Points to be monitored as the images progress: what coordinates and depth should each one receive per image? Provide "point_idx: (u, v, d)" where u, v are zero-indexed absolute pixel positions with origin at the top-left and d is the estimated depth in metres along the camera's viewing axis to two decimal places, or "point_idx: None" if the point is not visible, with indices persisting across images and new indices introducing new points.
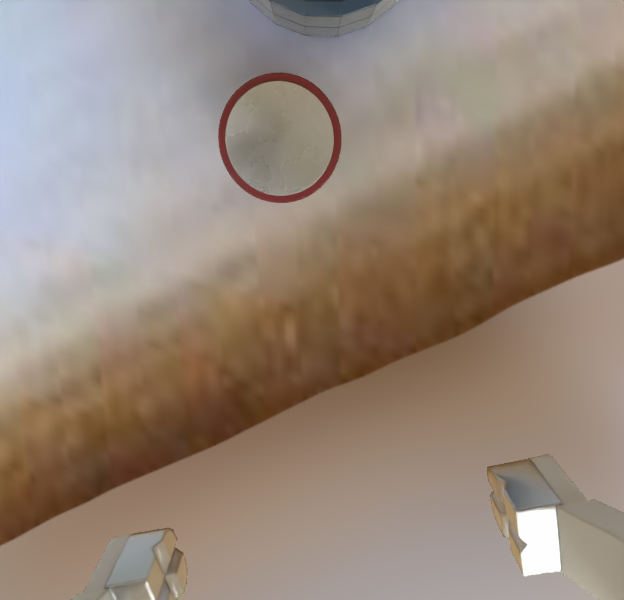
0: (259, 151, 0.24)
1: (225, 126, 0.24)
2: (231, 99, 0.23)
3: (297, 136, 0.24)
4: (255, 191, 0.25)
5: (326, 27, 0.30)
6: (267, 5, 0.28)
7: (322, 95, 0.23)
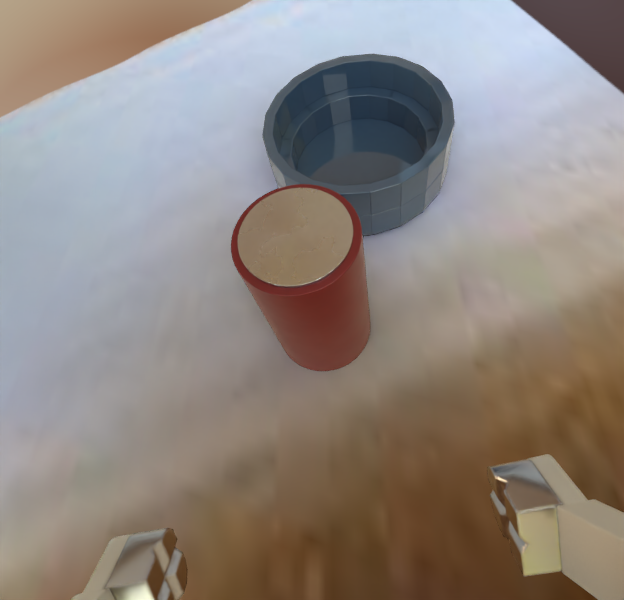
0: (271, 244, 0.22)
1: (240, 226, 0.23)
2: (250, 205, 0.23)
3: (313, 229, 0.22)
4: (262, 284, 0.21)
5: (359, 216, 0.32)
6: None
7: (340, 197, 0.23)
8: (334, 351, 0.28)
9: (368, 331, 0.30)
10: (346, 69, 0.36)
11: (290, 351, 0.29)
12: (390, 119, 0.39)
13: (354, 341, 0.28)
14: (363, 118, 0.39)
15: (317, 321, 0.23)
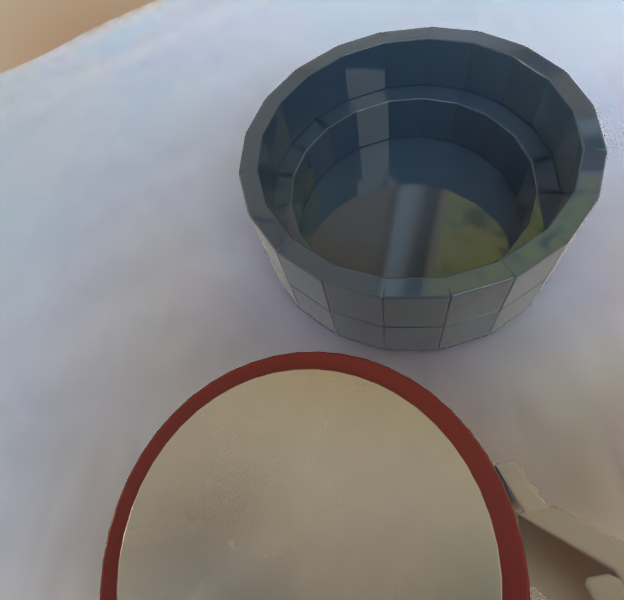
0: (223, 592, 0.07)
1: (135, 497, 0.08)
2: (170, 418, 0.08)
3: (362, 542, 0.07)
4: None
5: (421, 327, 0.17)
6: (319, 295, 0.17)
7: (440, 409, 0.07)
8: None
9: None
10: (386, 54, 0.21)
11: None
12: (455, 138, 0.23)
13: None
14: (409, 136, 0.24)
15: None
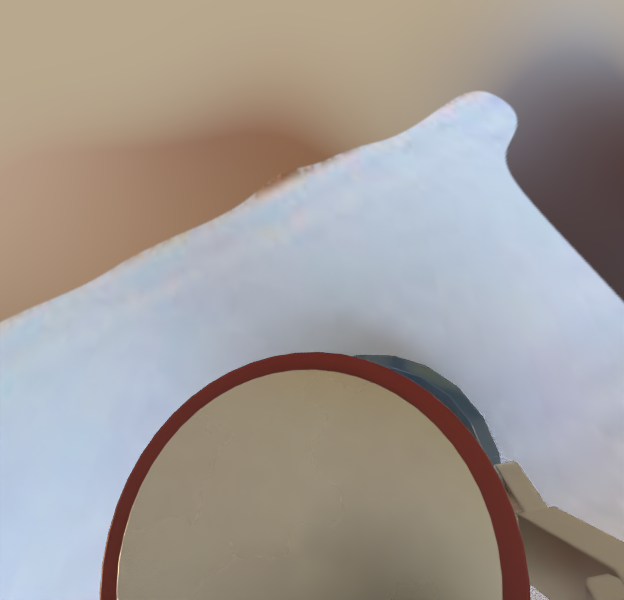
0: (223, 593, 0.07)
1: (135, 498, 0.08)
2: (170, 419, 0.08)
3: (362, 543, 0.07)
4: None
5: None
6: None
7: (439, 409, 0.07)
8: None
9: None
10: None
11: None
12: None
13: None
14: None
15: None
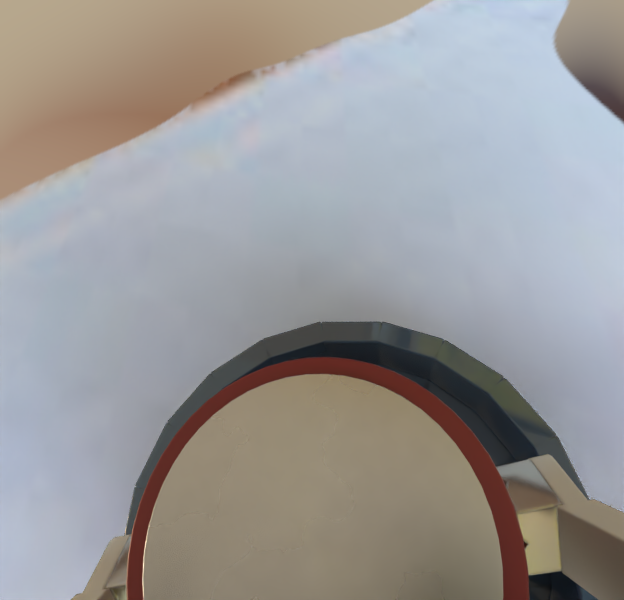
0: (243, 583, 0.07)
1: (157, 495, 0.08)
2: (189, 421, 0.09)
3: (371, 536, 0.07)
4: None
5: None
6: None
7: (443, 411, 0.08)
8: None
9: None
10: None
11: None
12: None
13: None
14: None
15: None
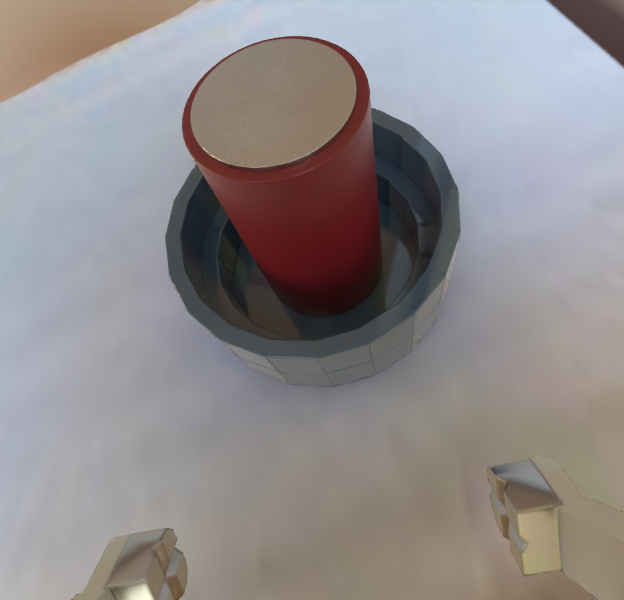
0: (238, 113, 0.15)
1: (196, 94, 0.16)
2: (211, 68, 0.16)
3: (298, 91, 0.15)
4: (222, 167, 0.14)
5: (308, 373, 0.21)
6: (225, 345, 0.21)
7: (340, 50, 0.16)
8: (334, 286, 0.21)
9: (379, 266, 0.24)
10: None
11: (278, 289, 0.23)
12: None
13: (360, 275, 0.22)
14: None
15: (306, 233, 0.17)
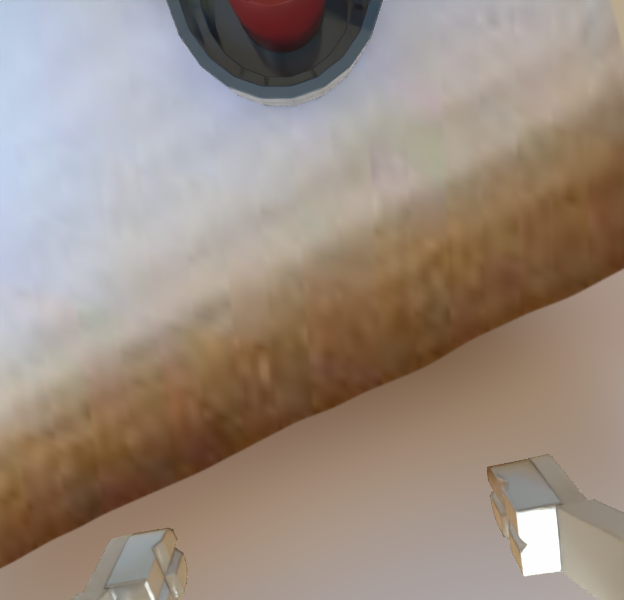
0: None
1: None
2: None
3: None
4: None
5: (282, 102, 0.33)
6: None
7: None
8: (296, 38, 0.31)
9: (324, 10, 0.32)
10: None
11: (254, 37, 0.31)
12: None
13: (313, 26, 0.31)
14: None
15: (287, 20, 0.26)
